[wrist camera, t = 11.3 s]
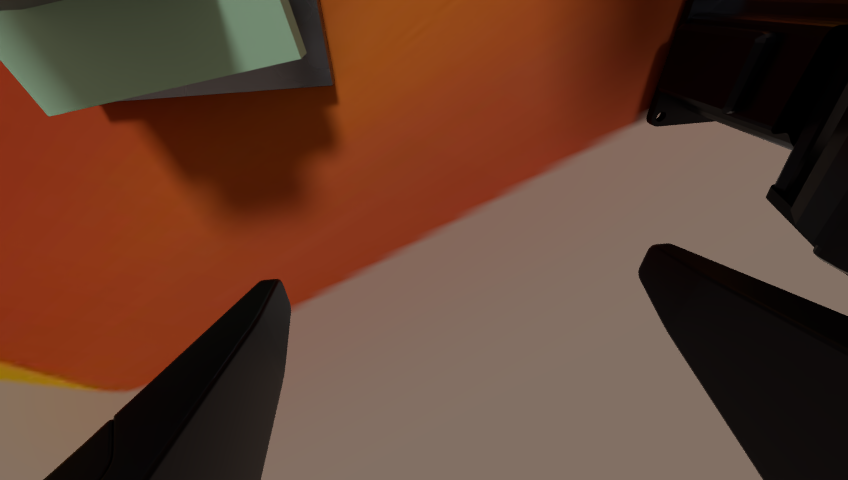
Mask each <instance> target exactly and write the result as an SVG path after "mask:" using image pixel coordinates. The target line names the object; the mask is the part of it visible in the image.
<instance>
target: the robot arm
mask: <svg viewBox="0 0 848 480" xmlns="http://www.w3.org/2000/svg"><path fill="white" fill-rule="evenodd" d="M659 113H661V114H660V116H659V117H658V118H657V119H656V117H657V115H658V114H659ZM646 119H647V122H648V123H649V124H651V125H654V126H668V125H678V124H690V123H701V122H712V121H717V122H719V123H722V124H725V125H728V126H730V127H733V128H735V129H738V130H740V131H743V132H746V133H748V134H751V135H753V136H756V137H759V138H761V139H764V140H767V141H769V142H772V143H775V144H777V145H780V146H782V147H785V148H787V149H790V150H792V151H791V153H790V155H789V157H788V159H787V161H786V163H785V165H784V167H783V170H782V171H781V173H780V175H779V178H778V179H777V181H776V183H775V184H774V185H772V186H771V187H770V189H769V192H768V194H767V196H766V198H767V200H768V201H769V202H770V203H771V204H772V205H773V206H774V207H775V208H776V209H777V210H778V211H779V212H780V213H781V214H782V215H783V216H784V217H785V218H786V219H787V220H788V221H789V222H790V223H791V224H792V225H793V226H794V227H795V228H796V229H797V230H798V231H799V232H800V233H801V234H802V235H803V236H804V237H805V238H806V239H807V240H808V241H809V242H810V243H811V244H812V246H814V249H813V252H814V254H815V255H816V256H817V257H818V258H819V259H821V260H822V261H824V262H826V263H827V264H829V265H831V266H833V267H835V268H836V269H838V270H840V271H841V272H843V273H845V274H846V275H848V0H687V1H686V4H685V7H684V10H683V13H682V16H681V19H680V22H679V24H678V27H677V30H676V33H675V36H674V39H673V42H672V45H671V48H670V50H669V53H668V56H667V59H666V62H665V65H664V68H663V71H662V73H661V76H660V79H659V82H658V85H657V88H656V91H655V94H654V97H653V99H652V102H651V105H650V108H649V111H648V114H647V118H646ZM638 273H639V278H640V280H641V282H642V284H643V286H644V288H645V290H646V292H647V294H648V296H649V298H650V300H651V302H652V304H653V306H654V308H655V310H656V311H657V313H658V315H659V317H660V319H661V321H662V323H663V325H664V327H665V328H666V330H667V332H668V334H669V335H670V337H671V338H672V340H673V341H674V343H675V345H676V346H677V348H678V349H679V351H680V352H681V354H682V356H683V357H684V358H685V360H686V361H687V363H688V365H689V366H690V368H691V369H692V371H693V372H694V374H695V376H696V377H697V379H698V380H699V382H700V383H701V385H702V386H703V388H704V389H705V391H706V393H707V394H708V396H709V397H710V399H711V400H712V402H713V403H714V405H715V406H716V408H717V409H718V411H719V412H720V414H721V415H722V417H723V419H724V420H725V422H726V423H727V425H728V426H729V428H730V429H731V431H732V433H733V434H734V436H735V437H736V439H737V440H738V442H739V443H740V445H741V446H742V448H743V450H744V451H745V453H746V454H747V456H748V457H749V459H750V460H751V462H752V463H753V465H754V466H755V468H756V470H757V471H758V473H759V474H760V476H761V477H762V479H763V480H848V316H846V315H844V314H841V313H839V312H836V311H834V310H831V309H829V308H827V307H824V306H822V305H819V304H817V303H814V302H812V301H809V300H807V299H805V298H802V297H800V296H797V295H795V294H792V293H790V292H787V291H785V290H783V289H780V288H778V287H775V286H773V285H770V284H768V283H765V282H763V281H761V280H758V279H756V278H753V277H751V276H748V275H746V274H744V273H741V272H738V271H736V270H734V269H731V268H729V267H726V266H724V265H722V264H719V263H717V262H714V261H712V260H709V259H707V258H704V257H702V256H700V255H697V254H694V253H692V252H690V251H687V250H685V249H683V248H680V247H678V246H675V245H672V244H656V245H652V246H651V247H650V248H649V249H648V251H647V253H646V255H645V257H644V259H643V262H642V264H641V266H640V268H639V272H638ZM290 316H291V306H290V302H289V299H288V297H287V294H286V291H285V289H284V286H283V283H282V282H281V280H279V279H270V280H262V281H260V282H259V283H257V284H256V285H255V286H254V287H253V288H252V289H251V290H250V291H249V292H248V293H246V294H245V295H244V296H243V297H242V298H241V299H240V300H239V301H238V302H237V303H236V304H235V305H234V306H232V307H231V308H230V309H229V310H228V311H227V312H226V313H225V314H224V315H223V316H222V317H221V318H219V319H218V320H217V321H216V322H215V323H214V324H213V325H212V326H211V327H210V328H209V329H208V330H206V331H205V332H204V333H203V334H202V335H201V336H200V337H199V338H198V339H197V340H196V341H195V342H193V343H192V344H191V345H190V346H189V347H188V348H187V349H186V350H185V351H184V352H183V353H182V354H180V355H179V356H178V357H177V358H176V359H175V360H174V361H173V362H172V363H171V364H170V365H169V366H168V367H166V368H165V369H164V370H163V371H162V372H161V373H160V374H159V375H158V376H157V377H156V378H155V379H153V380H152V381H151V382H150V383H149V384H148V385H147V386H146V387H145V388H144V389H143V390H142V391H140V392H139V393H138V394H137V395H136V396H135V397H134V398H133V399H132V400H131V401H130V402H129V403H128V404H126V405H125V406H124V407H123V408H122V409H121V410H120V411H119V412H118V413H117V414H116V415H115V416H114V420H109V421H108V422H107V423H106V424H105V425H104V426H102V427H101V428H100V429H99V430H98V431H97V432H96V433H95V434H94V435H93V436H92V437H90V438H89V439H88V440H87V441H86V442H85V443H84V444H83V445H82V446H81V447H79V448H78V449H77V450H76V451H75V452H74V453H73V454H72V455H70V457H68V458H67V459H66V460H65V461H64V462H63V463H62V464H60V465H59V466H58V467H57V468H56V469H55V470H54V471H53V472H52V473H50V474H49V475H48V476H47V477H46V478H45V479H43V480H261V475H262V471H263V466H264V462H265V458H266V454H267V449H268V445H269V440H270V436H271V431H272V427H273V423H274V418H275V414H276V410H277V405H278V401H279V396H280V391H281V388H282V383H283V378H284V372H285V364H286V355H287V345H288V335H289V326H290Z"/></svg>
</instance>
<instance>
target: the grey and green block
mask: <svg viewBox="0 0 848 480" xmlns="http://www.w3.org/2000/svg"><path fill="white" fill-rule="evenodd" d="M306 53H307V52H306V49H305V46H304V43H303V40H302V38H301V35H300V32H299V29H298V26H297V23H296V20H295V18H294V15H293V12H292V9H291V6H290V3H289V0H0V60H1V61H2V62H3V64H4V65H5V66H6V67H7V68H8V69H9V71H10V72H11V73H12V74H13V75H14V76H15V78H16V79H17V80H18V81H19V82H20V83H21V85H22V86H23V87H24V88H25V89H26V91H27V92H28V93H29V94H30V95H31V96H32V98H33V99H34V100H35V101H36V102H37V103H38V105H39V106H40V107H41V108H42V109H43V110H44V112H45V113H46V114H47V115H48V116H53V115H58V114H62V113H66V112H71V111H75V110H79V109H84V108H88V107H93V106H97V105H101V104H106V103H110V102H114V101H119V100H123V99H128V98H132V97H136V96H141V95H145V94H149V93H154V92H158V91H163V90H167V89H171V88H176V87H180V86H184V85H189V84H193V83H198V82H202V81H206V80H211V79H215V78H219V77H224V76H228V75H233V74H237V73H241V72H246V71H250V70H254V69H259V68H263V67H268V66H272V65H276V64H281V63H285V62H289V61H294V60H298V59H301V58H302V57H303V56H304V55H305V54H306Z"/></svg>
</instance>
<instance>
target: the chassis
mask: <svg viewBox="0 0 848 480" xmlns="http://www.w3.org/2000/svg"><path fill="white" fill-rule="evenodd" d="M289 3H290V6H291V9H292V12H293V15H294V18H295V20H296V23H297V26H298V29H299V32H300V35H301V38H302V40H303V43H304V46H305V49H306V52H307V53H306V54H305V55H304V56H303V57H302V58H301V59H298V60H294V61H289V62H285V63H281V64H276V65H272V66H268V67H263V68H259V69H254V70H250V71H246V72H241V73H237V74H233V75H228V76H224V77H219V78H215V79H211V80H206V81H202V82H198V83H193V84H189V85H184V86H180V87H176V88H171V89H167V90H163V91H158V92H154V93H149V94H145V95H141V96H136V97H132V98H128V99H123V100H119V101H129V100H143V99H156V98H169V97H183V96H196V95H210V94H223V93H236V92H250V91H263V90H277V89H290V88H303V87H317V86H330V85H333V83H334V74H333V69H332V64H331V58H330V53H329V47H328V42H327V37H326V31H325V26H324V21H323V15H322V10H321V4H320V0H289ZM114 102H116V101H114Z"/></svg>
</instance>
